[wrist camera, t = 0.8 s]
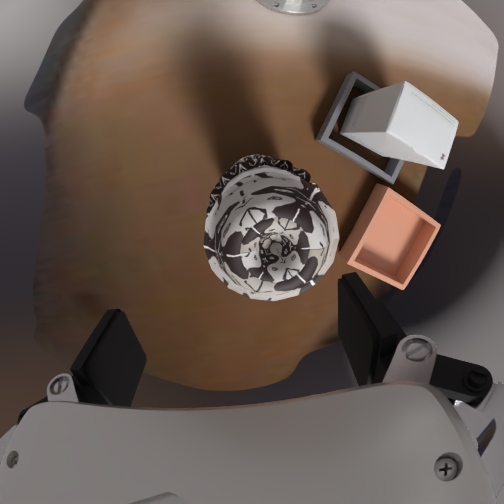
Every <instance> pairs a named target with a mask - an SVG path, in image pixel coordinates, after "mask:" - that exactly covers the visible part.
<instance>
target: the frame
mask: <svg viewBox="0 0 504 504" xmlns="http://www.w3.org/2000/svg"><path fill="white" fill-rule="evenodd" d="M353 85H354V86H356V87H358V88H359V89H361V90H362V91H364V92H366V93H370V92H373V91H375V90H378V89H381V88H379V87H378V86H376V85H375V84H373V83H372V82H370V81H369V80H367V79H366V78H364V77H363V76H361V75H359V74H358V73H356V72H355V71H353V72H351V73H349V74H348V75H346V77H345V79H344V81H343V83H342V85H341V88H340V90H339V92H338V94H337V96H336V98H335V100H334V102H333V104H332V106H331V108H330V110H329V112H328V114H327V117H326V119H325V121H324V123H323V125H322V127H321V129H320V131H319V133H318V135H317V137H316V139H315V141H317V142H319V143H321V144H323V145H324V146H326V147H328V148H330V149H332V150H333V151H335V152H337V153H339V154H341V155H342V156H344V157H346V158H347V159H349V160H351V161H353V162H354V163H356V164H358V165H359V166H361V167H362V168H364V169H366V170H367V171H369V172H371V173H372V174H374V175H375V176H377V177H378V178H380V179H381V180H383V181H385V182H388V183H391V184H394V182H395V180H396V178H397V176H398V174H399V171H400V169H401V167H402V165H403V163H404V161H405V160H401V159H396V158H391V157H390V159H389V162H388V164H387V166H386V168H385V170H384V172H383V171H382V170H380V169H379V168H377V167H376V166H374V165H373V164H371V163H370V162H368V161H366V160H365V159H363V158H362V157H360V156H358V155H357V154H355V153H353V152H352V151H350V150H348V149H347V148H345V147H343V146H342V145H340V144H338V143H336V142H335V141H333V140H331V139H329V138H328V137H329V135H330V133H331V131H332V129H333V127H334V125H335V123H336V121H337V119H338V117H339V115H340V113H341V110H342V108H343V106H344V104H345V102H346V100H347V98H348V96H349V94H350V91H351V89H352V87H353Z"/></svg>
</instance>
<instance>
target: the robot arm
mask: <svg viewBox="0 0 504 504" xmlns="http://www.w3.org/2000/svg"><path fill="white" fill-rule="evenodd" d="M257 1H258V2H259V3H260V4H262V5H263V6H265V7H267V8H269V9H271V10H274V11H276V12H280V13H284V14H290V15H304V14H310V13H314V12H316V11H319V10H321V9H322V8H323V7H325V6H326V4H327V3H328V2H329V0H257ZM275 6H277V7H275ZM338 333H339V337H340V340H341V342H342V344H343V347H344V349H345V352H346V354H347V357H348V359H349V362H350V364H351V367H352V370H353V372H354V375H355V377H356V380H357V383H358V385H359V386H358V387H354V388H348V389H343V390H339V391H334V392H329V393H324V394H319V395H313V396H308V397H302V398H295V399H290V400H283V401H275V402H268V403H259V404H250V405H240V406H227V407H210V408H141V407H131V404H132V400H133V398H134V395H135V392H136V389H137V386H138V383H139V381H140V378H141V375H142V372H143V370H144V367H145V364H146V360H147V359H146V354H145V352H144V351H143V349H142V347H141V345H140V343H139V341H138V339H137V337H136V335H135V333H134V331H133V329H132V327H131V325H130V323H129V321H128V319H127V317H126V315H125V313H124V312H123V311H121V310H120V309H110V310H107V311H106V313H105V314H104V316H103V317H102V319H101V320H100V322H99V323H98V325H97V326H96V328H95V329H94V331H93V332H92V334H91V335H90V337H89V339H88V340H87V342H86V343H85V345H84V346H83V348H82V350H81V351H80V353H79V355H78V356H77V358H76V360H75V361H74V363H73V365H72V366H71V368H70V370H71V372H72V373H73V376H72V377H71V376H70V375H69V374H60V375H58V376H56V377H55V378H53V379H52V380H51V382H50V383H49V385H48V387H47V397H45V398H44V399H42V400H40V401H39V402H37V403H35V404H33V405H32V406H30V407H28V408H26V409H25V410H23V411H22V412H21V413H20V415H19V418H18V426H16V425H15V426H14V427H12V428H11V430H9V431H8V432H7V433H6V434H5V435H4V436H3V437H2V438H1V439H0V504H497V503H496V499H495V498H496V497H497V496H498V494H499V492H500V491H501V489H502V488H503V486H504V384H502V383H500V382H498V384H495V383H493V379H492V376H491V374H490V372H489V371H488V370H487V369H486V368H485V367H483V366H480V365H477V364H472V363H468V362H465V361H461V360H457V359H453V358H450V357H446V356H442V355H438V354H437V348H436V345H435V343H434V342H433V341H432V340H431V339H429V338H427V337H425V336H422V335H411V336H408V337H407V336H406V334H405V333H404V331H403V330H402V328H401V327H400V325H399V324H398V322H397V321H396V320H395V319H394V317H393V315H392V314H391V312H390V311H389V310H388V308H387V307H386V305H385V304H384V303H383V301H382V300H381V299H375V298H374V297H373V295H372V294H371V292H370V291H369V290H368V288H367V287H366V285H365V284H364V282H363V281H362V280H361V278H360V277H359V276H358V274H357V273H356V272H353V273H348V274H343V275H342V278H341V279H338ZM467 428H468V429H467ZM470 434H472V435H473V436H474V437H475V438H476V440H477V442H478V450H477V448H476V446H475V444H474V441H473V439H472V437H471V435H470ZM436 461H437V462H436Z"/></svg>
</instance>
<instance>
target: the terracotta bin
mask: <svg viewBox="0 0 504 504" xmlns="http://www.w3.org/2000/svg"><path fill="white" fill-rule="evenodd" d="M440 226H441V225H440V224H439V223H437V222H436V221H435V220H433V219H432V218H431V217H429V216H428V215H427V214H426V213H424V212H423V211H421V210H420V209H419V208H417V207H416V206H415V205H413V204H412V203H410V202H409V201H408V200H406V199H405V198H403V197H402V196H401V195H399V194H398V193H396V192H395V191H393V190H392V189H390V188H389V187H386V186H384V185H381V184H378V183H376V185H375V187H374V189H373V191H372V193H371V195H370V196H369V198H368V200H367V202H366V204H365V206H364V208H363V210H362V212H361V214H360V216H359V218H358V219H357V221H356V223H355V225H354V227H353V229H352V231H351V232H350V234H349V236H348V238H347V240H346V241H345V243H344V245H343V247H342V248H341V250H340V252H339V254H340V255H341V256H342V258H343V259H344V260H345V262H346V263H347V264H349V265H351V266H353V267H355V268H358V269H360V270H362V271H364V272H366V273H368V274H370V275H372V276H375V277H377V278H379V279H381V280H383V281H385V282H387V283H389V284H391V285H393V286H395V287H398V288H400V289H402V290H404V289H405V287H406V286H407V284H408V283H409V281H410V279H411V278H412V276H413V275H414V273H415V271H416V270H417V268H418V266H419V265H420V263H421V261H422V259H423V258H424V256H425V254H426V252H427V251H428V249H429V247H430V245H431V243H432V242H433V240H434V238H435V236H436V234H437V232H438V230H439V228H440Z"/></svg>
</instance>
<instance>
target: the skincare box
mask: <svg viewBox="0 0 504 504" xmlns="http://www.w3.org/2000/svg"><path fill="white" fill-rule="evenodd" d="M458 123H459V122H458V121H457V120H456V119H455V118H454V117H453V116H451V115H450V114H449V113H448V112H447V111H445V110H444V109H443V108H442V107H441V106H439V105H438V104H437V103H436V102H434V101H433V100H432V99H430V98H429V97H428V96H427V95H425V94H424V93H422V92H421V91H420V90H418V89H417V88H415V87H414V86H412V85H411V84H410V83H408V82H407V81H404V82H400V83H397V84H394V85H391V86H388V87H385V88H381V89H378V90H375V91H373V92H370V93H367V94H364V95H361V96H358V97H355V98H353V99H352V102H351V105H350V107H349V110H348V112H347V115H346V118H345V120H344V123H343V126H342V128H341V131H340V134H341V135H343V136H345V137H347V138H349V139H351V140H353V141H355V142H357V143H359V144H361V145H362V146H364V147H366V148H368V149H370V150H372V151H374V152H375V153H377V154H379V155H381V156H385V157H391V158H396V159H401V160H406V161H411V162H415V163H420V164H424V165H428V166H433V167H437V168H441V169H444V168H445V165H446V162H447V158H448V156H449V152H450V149H451V146H452V143H453V140H454V137H455V133H456V130H457V126H458Z"/></svg>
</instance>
